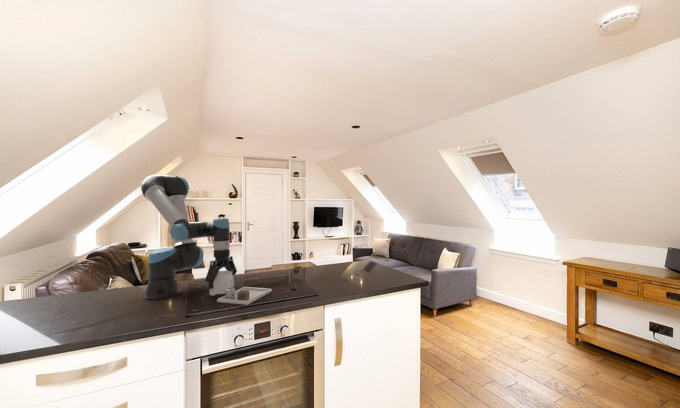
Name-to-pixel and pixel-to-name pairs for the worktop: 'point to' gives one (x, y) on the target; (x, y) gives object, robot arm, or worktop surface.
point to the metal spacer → (230, 293)
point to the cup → (222, 281)
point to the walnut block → (243, 295)
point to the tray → (253, 295)
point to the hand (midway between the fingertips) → (222, 291)
